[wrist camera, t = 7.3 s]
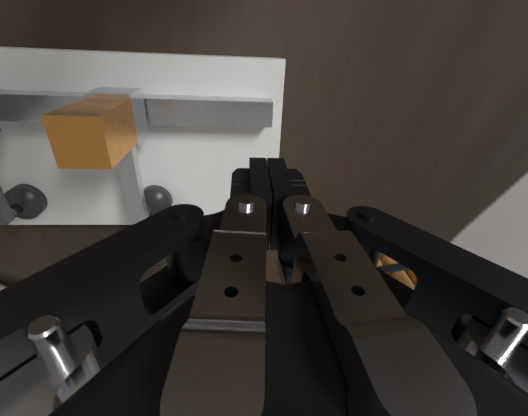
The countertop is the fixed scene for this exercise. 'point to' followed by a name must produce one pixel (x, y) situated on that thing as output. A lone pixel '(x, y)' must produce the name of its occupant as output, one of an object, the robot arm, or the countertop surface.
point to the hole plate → (154, 146)
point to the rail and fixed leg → (157, 112)
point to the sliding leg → (103, 138)
